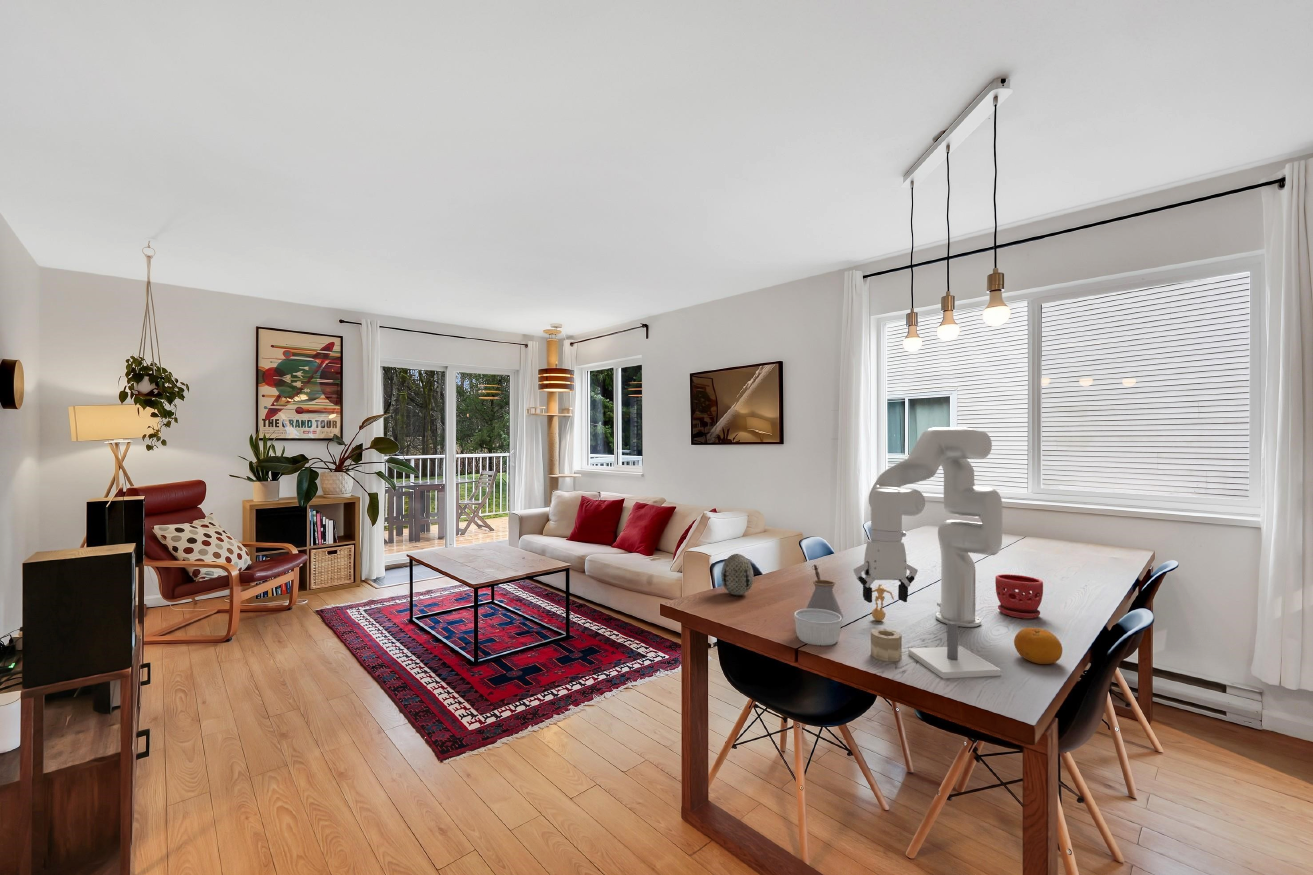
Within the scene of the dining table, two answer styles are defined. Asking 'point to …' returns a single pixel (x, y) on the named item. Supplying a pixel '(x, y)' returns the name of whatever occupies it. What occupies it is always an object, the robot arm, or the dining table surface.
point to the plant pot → (1019, 595)
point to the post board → (953, 659)
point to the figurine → (878, 612)
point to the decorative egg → (737, 574)
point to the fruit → (1038, 645)
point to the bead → (886, 645)
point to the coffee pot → (823, 595)
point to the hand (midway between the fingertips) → (885, 600)
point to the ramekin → (818, 626)
